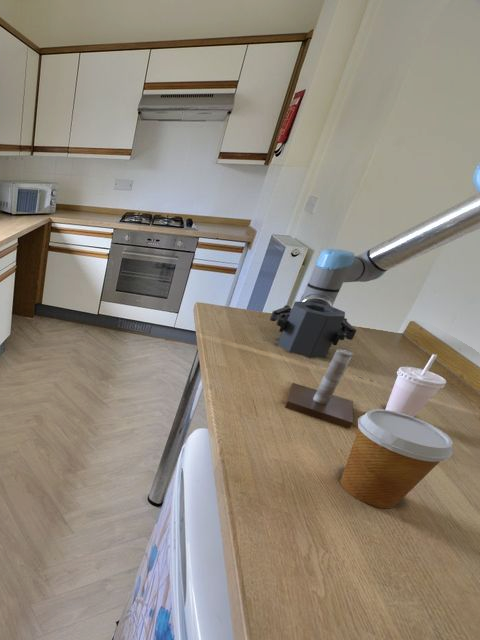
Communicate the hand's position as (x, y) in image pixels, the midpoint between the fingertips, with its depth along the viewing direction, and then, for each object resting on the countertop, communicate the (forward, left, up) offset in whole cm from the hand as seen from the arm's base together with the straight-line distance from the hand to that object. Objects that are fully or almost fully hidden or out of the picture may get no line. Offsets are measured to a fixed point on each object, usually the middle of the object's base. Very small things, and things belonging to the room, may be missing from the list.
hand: (308, 333), depth 100 cm
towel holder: (-5, +26, -7) cm, 27 cm away
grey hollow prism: (0, -4, -7) cm, 8 cm away
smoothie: (-17, +19, -7) cm, 26 cm away
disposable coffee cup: (-12, +50, -7) cm, 52 cm away
